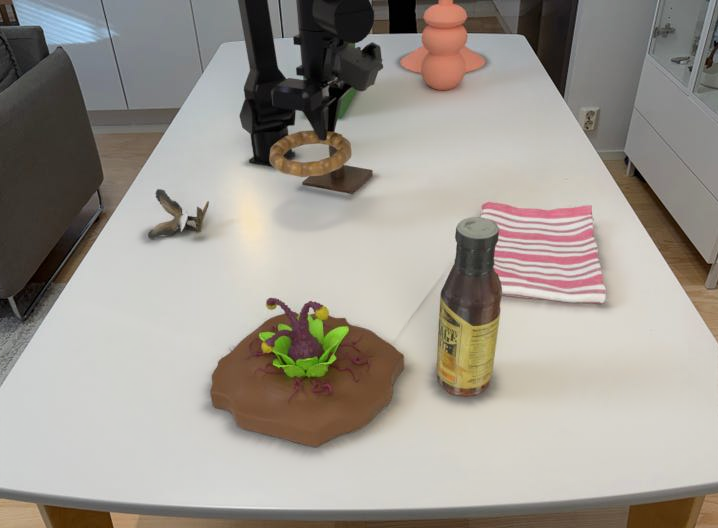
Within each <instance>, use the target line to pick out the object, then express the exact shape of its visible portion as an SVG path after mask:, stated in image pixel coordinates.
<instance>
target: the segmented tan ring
mask: <svg viewBox="0 0 718 528" xmlns="http://www.w3.org/2000/svg"><path fill="white" fill-rule="evenodd" d="M340 134H341V133H338V132H336V131H335V132H330V131H327V139H326V140H325V141H323V140H320V139H319V138H318V136H317V135H316V133H315V131H314V129H311V130H300V131H297V132H294V133H291V134H288V136H285V137H283V138H281V139H280V140H279V141H278V142H277V143H275V144H274V145H273V146H272V147H271V149H270V158H269V160H270V163H271V165H272V166H274V167H273V168H275V169H276V170H277V171H278V172H280V173H281V174H284V175H287V176H293V177H297V178H298V177H299V178H305V177H306V178H308V177H309V176H320V175H324V174H327V173H329V172H332V171H335V170H337V169H340V168H341V167H342V166H343V165H346V163H347V162H348V161H349V160H351V157H352V145H351V141H350V140H349V139H347V138H346V137H344V135H342V134H341V135H342V136H341V135H340ZM318 144H319V145H324V146H329V145H330V146H333V147H335V148H336V149H338V151H337V152H336V153H335V154H334V155H333V156H331V157H329V156H327V157H325V158H322V159H319V160H313V161H302V162H301V161H297V160H292V159H290V160H287V159H286V158H285V157H283V156H284V154H285V153H286V152H288V151H289V150H290V149H292V150H293V149H295V148H299V147H301V146H307V145H318Z"/></svg>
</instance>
